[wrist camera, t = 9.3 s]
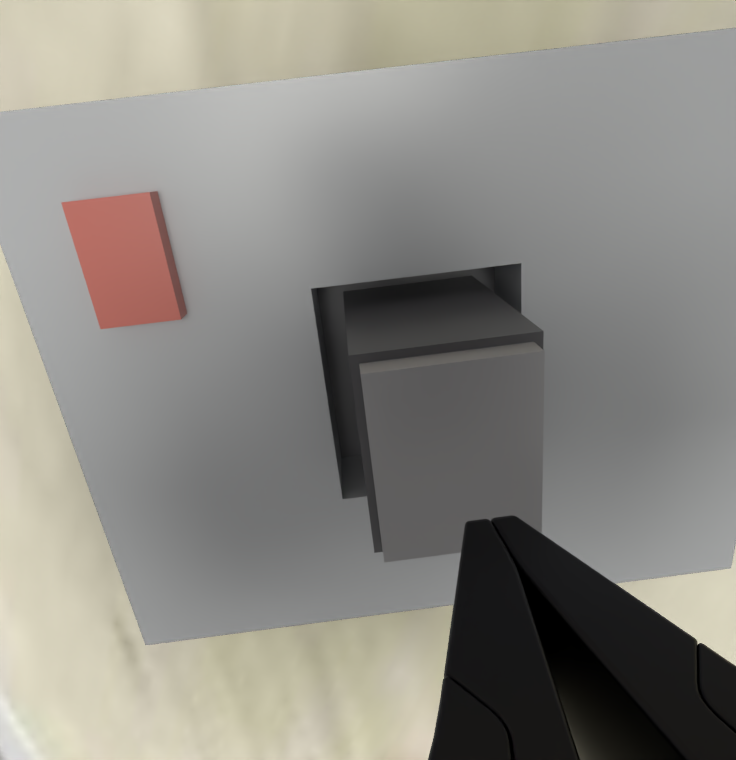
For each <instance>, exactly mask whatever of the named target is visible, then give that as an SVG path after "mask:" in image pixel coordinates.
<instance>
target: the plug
mask: <svg viewBox="0 0 736 760" xmlns="http://www.w3.org/2000/svg"><path fill="white" fill-rule="evenodd" d="M343 298H344V310H345V322H346V335H347V347H348V358H349V365H350V373H351V380H352V388H353V395H354V403H355V410H356V418H357V425H358V433H359V441H360V448H361V456H362V463H363V471H364V478H365V486H366V493H367V501H368V508H369V516H370V524H371V531H372V539H373V546H374V553H378V552H383V557H384V563H386V562H393V561H401V560H408V559H416V558H423V557H431V556H439V555H446V554H454V553H461V548H462V541H463V534H464V527H465V523H466V522H467V521H471V520H479V519H488V520H490V521H491V519H492V518H495V517H502V516H510V515H514V516H517V517H518V518H520V519H521V520H523V521H524V522H526V523H527V524H529V525H530V526H532V527H533V528H534V529H536V530H537V531H539V532H540V533H542V489H543V426H544V362H545V351H544V350H543V338H544V331H543V330H542V329H540V328H539V327H538V326H536V325H535V324H534V323H533V322H531V321H530V320H529V319H527V318H526V317H525V316H524V315H522V314H521V313H520V312H518V311H517V310H516V309H514V308H513V307H512V306H511V305H509V304H508V303H507V302H505V301H504V300H503V299H502V298H500V297H499V296H498V295H496V294H495V293H494V292H493V291H491V290H490V289H489V288H487V287H486V286H485V285H484V284H482V283H481V282H480V281H478V280H477V279H476V278H475V277H473V276H472V275H471V276H463V277H455V278H447V279H439V280H431V281H423V282H415V283H407V284H399V285H391V286H383V287H374V288H366V289H358V290H350V291H343Z"/></svg>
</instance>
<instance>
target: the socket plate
mask: <svg viewBox="0 0 736 760" xmlns="http://www.w3.org/2000/svg"><path fill="white" fill-rule="evenodd" d="M0 245H1V247H2V250H3V253H4V256H5V259H6V261H7V264H8V267H9V270H10V272H11V275H12V278H13V281H14V283H15V286H16V289H17V292H18V294H19V297H20V300H21V303H22V305H23V308H24V311H25V314H26V316H27V319H28V322H29V325H30V327H31V330H32V333H33V336H34V339H35V341H36V344H37V347H38V350H39V352H40V355H41V358H42V361H43V363H44V366H45V369H46V372H47V374H48V377H49V380H50V383H51V385H52V388H53V391H54V394H55V396H56V399H57V402H58V405H59V407H60V410H61V413H62V416H63V419H64V421H65V424H66V427H67V430H68V432H69V435H70V438H71V441H72V443H73V446H74V449H75V452H76V454H77V457H78V460H79V463H80V465H81V468H82V471H83V474H84V476H85V479H86V482H87V485H88V487H89V490H90V493H91V496H92V499H93V501H94V504H95V507H96V510H97V512H98V515H99V518H100V521H101V523H102V526H103V529H104V532H105V534H106V537H107V540H108V543H109V545H110V548H111V551H112V554H113V556H114V559H115V562H116V565H117V568H118V570H119V573H120V576H121V579H122V581H123V584H124V587H125V590H126V592H127V595H128V598H129V601H130V603H131V606H132V609H133V612H134V614H135V617H136V620H137V623H138V625H139V628H140V631H141V634H142V636H143V639H144V642H145V645H152V644H159V643H167V642H175V641H182V640H190V639H197V638H205V637H212V636H220V635H228V634H235V633H243V632H250V631H258V630H266V629H273V628H281V627H288V626H296V625H304V624H311V623H319V622H326V621H334V620H342V619H349V618H357V617H364V616H372V615H380V614H387V613H395V612H402V611H410V610H418V609H425V608H433V607H440V606H448V605H454V599H455V592H456V585H457V577H458V570H459V563H460V556H461V553H454V554H446V555H439V556H431V557H423V558H416V559H408V560H401V561H393V562H386V563H384V557H383V552H378V553H374V546H373V539H372V531H371V524H370V516H369V508H368V501H367V493H366V486H365V478H364V471H363V463H362V456H361V448H360V441H359V433H358V425H357V418H356V410H355V403H354V395H353V388H352V380H351V373H350V365H349V358H348V347H347V335H346V322H345V310H344V298H343V291H350V290H358V289H366V288H374V287H383V286H391V285H399V284H407V283H415V282H423V281H431V280H439V279H447V278H455V277H463V276H471V275H472V276H473V277H475V278H476V279H477V280H478V281H480V282H481V283H482V284H484V285H485V286H486V287H487V288H489V289H490V290H491V291H493V292H494V293H495V294H496V295H498V296H499V297H500V298H502V299H503V300H504V301H505V302H507V303H508V304H509V305H511V306H512V307H513V308H514V309H516V310H517V311H518V312H520V313H521V314H522V315H524V316H525V317H526V318H527V319H529V320H530V321H531V322H533V323H534V324H535V325H536V326H538V327H539V328H540V329H542V330H543V331H544V338H543V350H544V351H545V362H544V426H543V489H542V534H543V535H545V536H546V537H548V538H549V539H551V540H552V541H553V542H555V543H556V544H558V545H559V546H561V547H562V548H564V549H565V550H567V551H568V552H570V553H571V554H572V555H574V556H575V557H577V558H578V559H580V560H581V561H583V562H584V563H586V564H587V565H588V566H590V567H591V568H593V569H594V570H596V571H597V572H599V573H600V574H602V575H603V576H605V577H606V578H607V579H609V580H610V581H612V582H613V583H623V582H630V581H638V580H645V579H653V578H661V577H668V576H676V575H683V574H691V573H699V572H706V571H714V570H721V569H729V568H731V565H732V560H733V554H734V549H735V544H736V28H729V29H721V30H712V31H703V32H694V33H686V34H677V35H668V36H659V37H651V38H642V39H633V40H624V41H616V42H607V43H598V44H589V45H581V46H572V47H563V48H555V49H546V50H537V51H528V52H520V53H511V54H502V55H493V56H485V57H476V58H467V59H458V60H450V61H441V62H432V63H423V64H415V65H406V66H397V67H389V68H380V69H371V70H362V71H354V72H345V73H336V74H327V75H319V76H310V77H301V78H292V79H284V80H275V81H266V82H257V83H249V84H240V85H231V86H223V87H214V88H205V89H196V90H188V91H179V92H170V93H161V94H153V95H144V96H135V97H126V98H118V99H109V100H100V101H91V102H83V103H74V104H65V105H57V106H48V107H39V108H30V109H22V110H13V111H4V112H0Z"/></svg>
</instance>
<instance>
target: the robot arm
mask: <svg viewBox="0 0 736 760" xmlns="http://www.w3.org/2000/svg"><path fill="white" fill-rule="evenodd" d="M428 760H736V666H735V665H734V664H732V663H730V662H729V661H727V660H726V659H725V658H723V657H722V656H720V655H719V654H717V653H716V652H714V651H713V650H711V649H710V648H708V647H707V646H706V645H704V644H702V643H699V644H698V646H697V640H696V639H695V638H694V637H692V636H691V635H689V634H688V633H686V632H685V631H683V630H682V629H680V628H679V627H677V626H676V625H675V624H673V623H672V622H670V621H669V620H667V619H666V618H664V617H663V616H661V615H660V614H659V613H657V612H656V611H654V610H653V609H651V608H650V607H648V606H647V605H645V604H644V603H642V602H641V601H640V600H638V599H637V598H635V597H634V596H632V595H631V594H629V593H628V592H626V591H625V590H624V589H622V588H621V587H619V586H618V585H616V584H615V583H613V582H612V581H610V580H609V579H607V578H606V577H605V576H603V575H602V574H600V573H599V572H597V571H596V570H594V569H593V568H591V567H590V566H588V565H587V564H586V563H584V562H583V561H581V560H580V559H578V558H577V557H575V556H574V555H572V554H571V553H570V552H568V551H567V550H565V549H564V548H562V547H561V546H559V545H558V544H556V543H555V542H553V541H552V540H551V539H549V538H548V537H546V536H545V535H543V534H542V533H540V532H539V531H537V530H536V529H534V528H533V527H532V526H530V525H529V524H527V523H526V522H524V521H523V520H521V519H520V518H518V517H517V516H514V515H510V516H502V517H495V518H492V519H491V521H490V520H488V519H479V520H471V521H467V522H466V523H465V527H464V534H463V541H462V548H461V556H460V563H459V570H458V577H457V585H456V592H455V599H454V606H453V614H452V621H451V628H450V635H449V643H448V650H447V657H446V664H445V672H444V679H443V684H442V691H441V698H440V705H439V711H438V716H437V722H436V727H435V733H434V738H433V742H432V746H431V750H430V754H429V758H428Z"/></svg>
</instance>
